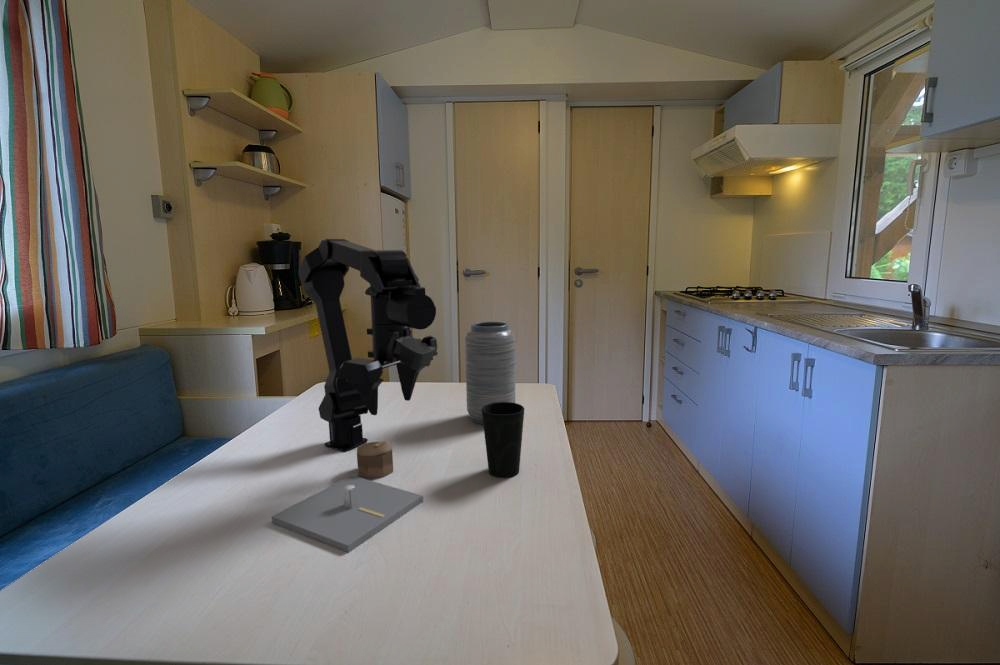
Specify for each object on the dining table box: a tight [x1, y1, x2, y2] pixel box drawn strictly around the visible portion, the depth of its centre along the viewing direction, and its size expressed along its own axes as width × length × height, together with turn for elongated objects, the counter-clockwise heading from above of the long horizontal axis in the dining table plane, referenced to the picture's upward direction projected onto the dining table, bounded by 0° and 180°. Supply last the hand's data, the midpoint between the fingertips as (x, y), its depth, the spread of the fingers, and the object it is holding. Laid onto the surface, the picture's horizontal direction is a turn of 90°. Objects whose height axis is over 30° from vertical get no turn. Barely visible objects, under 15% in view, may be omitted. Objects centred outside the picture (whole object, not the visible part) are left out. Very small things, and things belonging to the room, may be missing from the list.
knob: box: [356, 440, 394, 480], centre depth 94 cm, size 6×6×5 cm
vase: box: [464, 321, 517, 425], centre depth 120 cm, size 12×12×23 cm
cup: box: [482, 402, 525, 479], centre depth 92 cm, size 8×8×12 cm
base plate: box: [271, 475, 424, 553], centre depth 79 cm, size 16×16×4 cm
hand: (391, 407), depth 92 cm, fingers open, 9 cm apart
